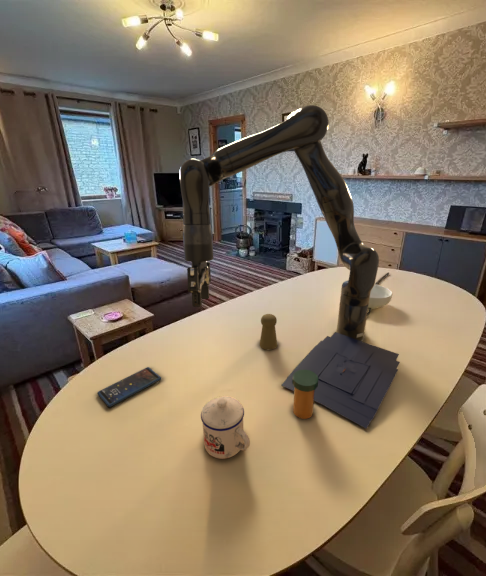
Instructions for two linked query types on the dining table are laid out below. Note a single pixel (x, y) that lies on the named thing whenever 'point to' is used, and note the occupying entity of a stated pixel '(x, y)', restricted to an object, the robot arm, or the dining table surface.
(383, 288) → the cereal bowl
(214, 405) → the teacup with lid
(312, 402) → the jar
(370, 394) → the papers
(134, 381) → the smartphone
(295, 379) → the lid
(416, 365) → the dining table surface
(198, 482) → the dining table surface
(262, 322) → the brown rounded tall piece
